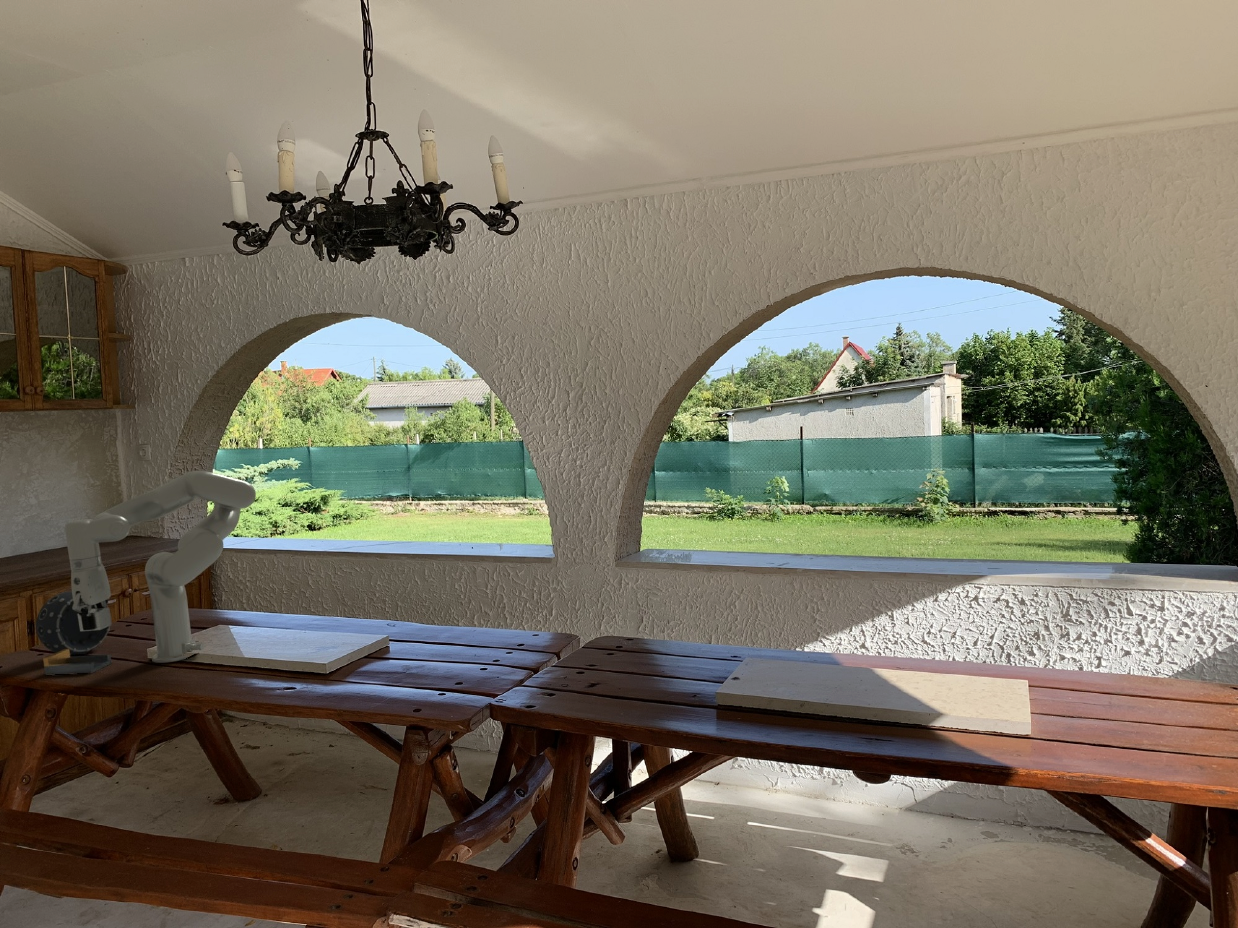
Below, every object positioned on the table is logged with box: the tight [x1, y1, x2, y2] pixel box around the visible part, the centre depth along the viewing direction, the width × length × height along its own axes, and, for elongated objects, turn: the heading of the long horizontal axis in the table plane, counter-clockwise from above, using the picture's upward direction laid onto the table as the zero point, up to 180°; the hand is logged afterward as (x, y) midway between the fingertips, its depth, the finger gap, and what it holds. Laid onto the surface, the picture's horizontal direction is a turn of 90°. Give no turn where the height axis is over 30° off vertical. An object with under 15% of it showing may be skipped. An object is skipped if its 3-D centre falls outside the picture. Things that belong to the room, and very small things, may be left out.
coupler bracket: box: [42, 649, 112, 675], centre depth 262 cm, size 14×9×5 cm, turn 86°
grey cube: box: [78, 607, 113, 631], centre depth 253 cm, size 7×5×5 cm
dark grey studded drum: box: [35, 590, 112, 656], centre depth 281 cm, size 11×20×20 cm, turn 155°
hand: (95, 626), depth 253 cm, fingers closed on grey cube, 5 cm apart
